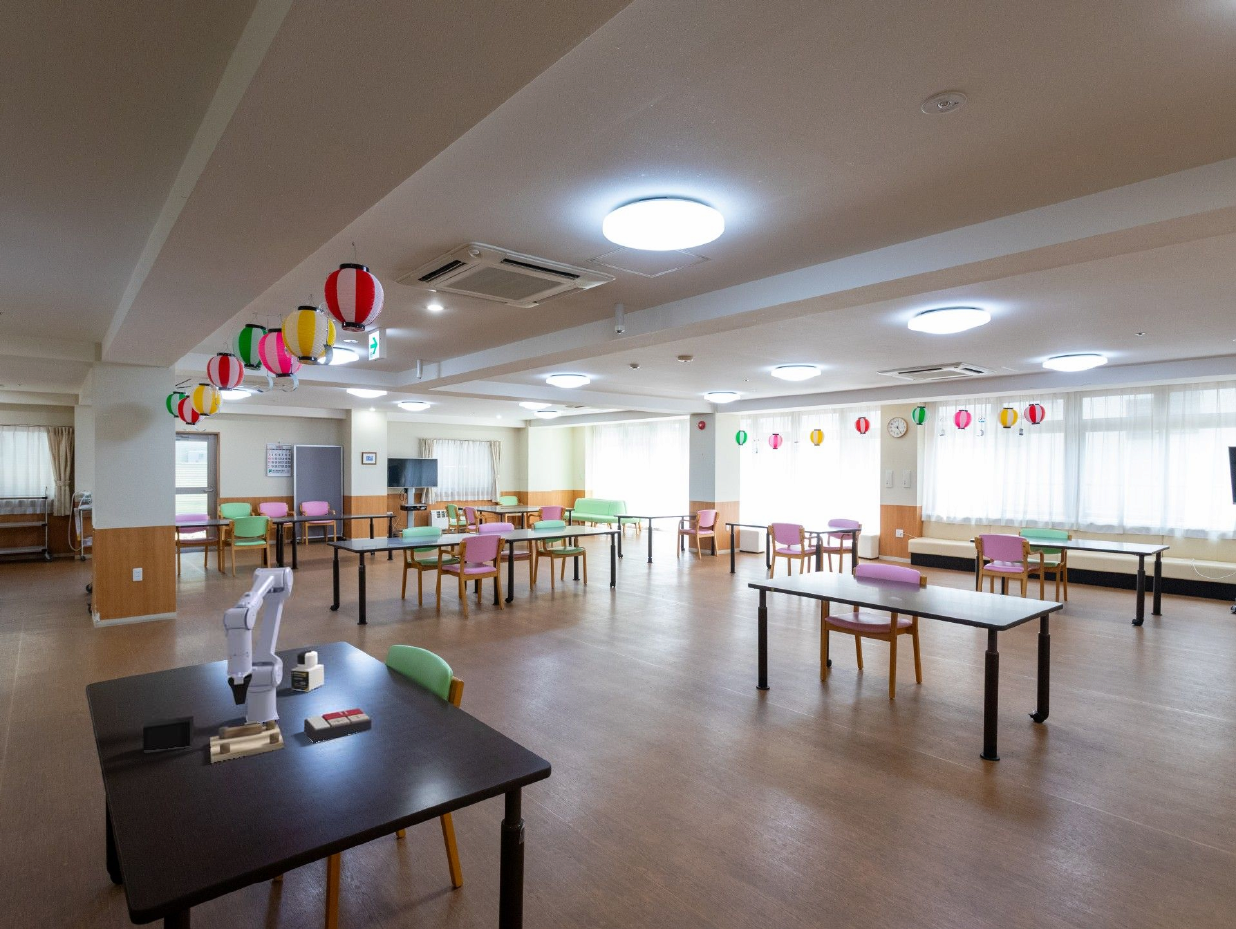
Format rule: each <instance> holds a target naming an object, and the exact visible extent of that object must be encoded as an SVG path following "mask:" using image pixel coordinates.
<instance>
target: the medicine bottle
mask: <svg viewBox="0 0 1236 929" xmlns="http://www.w3.org/2000/svg"><path fill="white" fill-rule="evenodd" d="M296 658H297V659H296V661H297V663H296V664H297V666H296V667H294V668H291V670H290V671H291V672H290V673H291V674H290V678H291V679H290V684H291V685H290V686H291V688H292V689H301V690H306V691H310V690H311V689H314V688H316V687H318V686H320V685H323V684H324V685H325V668H324V667H325V666H324V664H320V663H319V662H318V652H317V651H315V650H305V651H301V652H299V653H298V654H297V655H296ZM318 663H319V664H318Z"/></svg>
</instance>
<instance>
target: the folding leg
mask: <svg viewBox="0 0 1236 929" xmlns="http://www.w3.org/2000/svg"><path fill="white" fill-rule="evenodd" d="M262 727H263V723H260V724H253V725H246V726H245V725H241V726H232V727H229V726H222V727H221V726H220V727H219V728H218V736H219V739H226V738H233V737H240V736H246V735H253V734H260V733H262V731H263V730H262Z"/></svg>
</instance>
